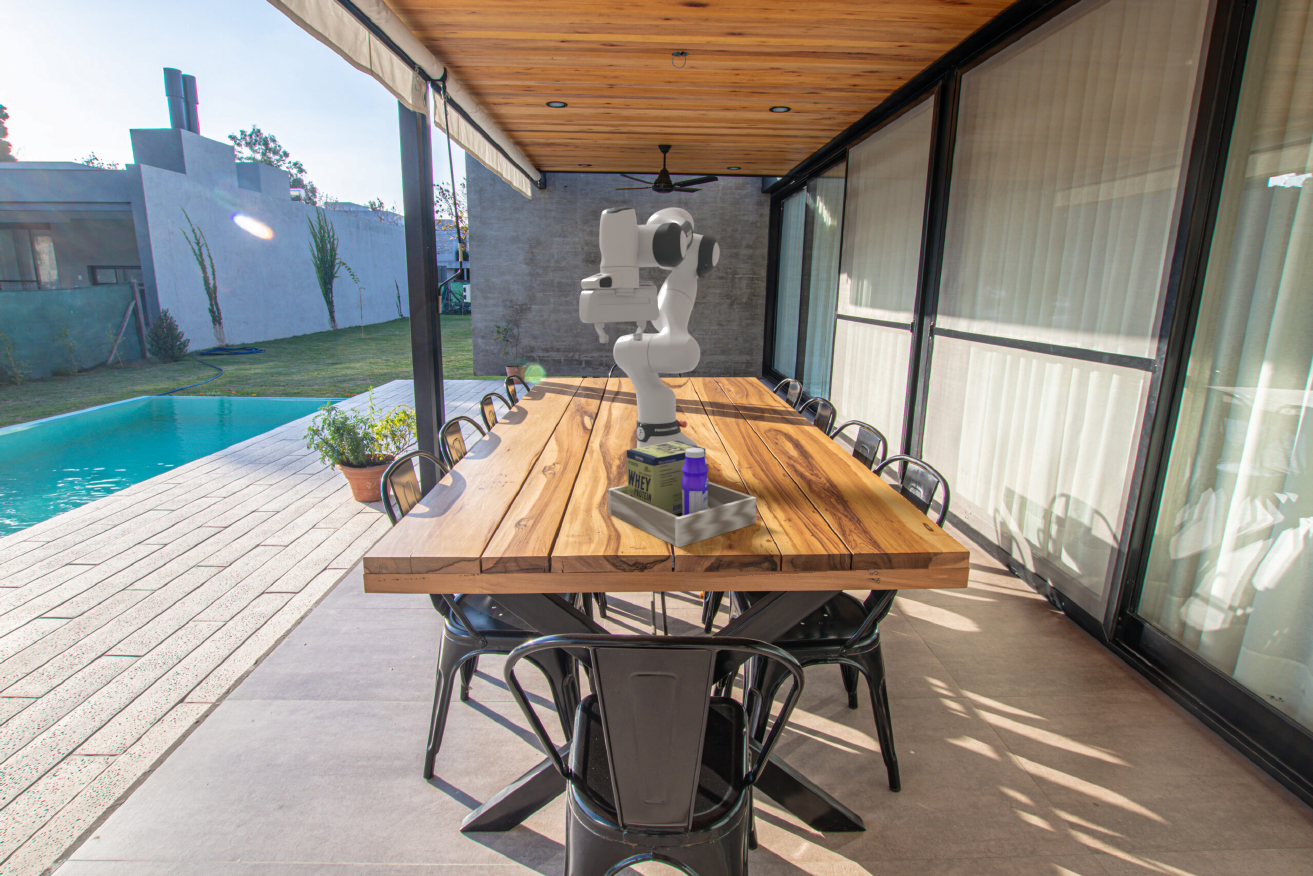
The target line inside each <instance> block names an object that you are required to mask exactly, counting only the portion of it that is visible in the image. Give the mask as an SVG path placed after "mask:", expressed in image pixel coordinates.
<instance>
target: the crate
mask: <svg viewBox="0 0 1313 876" xmlns="http://www.w3.org/2000/svg"><path fill="white" fill-rule="evenodd" d="M607 501H608V502H607V504H608V514H609V515H611V516H613V517H615V518H617V519H619V520H621V521H623V522H625V523H627V524H629V525H631V526H633V527H636V528H637V529H640V530H642V531H643V532H646V533H648V534H649V535H652V536H654V537H655V538H658V539H660V540H662V541H665V542H666V543H669V545H672V546H675V547H676V548H681V547H684V546H688V545H691V544H695V543H696V542H701V541H704V540H707V539H709V538H714V537H717V536H719V535H722V534H723V535H724V534H726V533H730V532H733V531H736V530H739V529H742V528H746V527H748V526H749V527H750V526H753V525H755V524H757V523H756V522H757V497H755V496H752V495H749V494H747V493H743V492H740V491H739V490H736V489H735V490H734V489H732V488H729V487H725V486H723V485H720V484H717V483H714V482H710V481H708V509H706V510H702V511H699V512H695V513H691V514H688V515H684V516H680V517H678V516H676V515H673V514H671V513H669V512H666V511H664V510H662V509H659V508H657V507H655V506H652V505H650V504H648V503H645V502H643V501H641V500H638V499H636V498H633V497H631V496H629V495H628V484H624V485H619V486H615V487H610V488H607Z"/></svg>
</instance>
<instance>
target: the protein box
mask: <svg viewBox="0 0 1313 876" xmlns="http://www.w3.org/2000/svg"><path fill="white" fill-rule="evenodd" d="M689 448H702V449H704V454H705V455H706V448H705V447H701V446H698V445H697V446H695V445H691V444H688V443H684V442H681V441H672V442H667V443H662V444H657V445H652V446H647V447H641V448H637V447H636V448H631V449H626V474H627V475H626V476H627V478H626V479H627V480H626V482H627V485H628V495H629V496H631V497H633V498H636V499H638V500H641V501H643V502H645V503H648V504H650V505H652V506H655V507H657V508H659V509H662V510H664V511H666V512H669V513H671V514H673V515H676V516H678V517H680V516H682V478H683V474H684V473H683V471H682V468H683V466H684V464H685V457H686V449H689Z"/></svg>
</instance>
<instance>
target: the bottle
mask: <svg viewBox="0 0 1313 876" xmlns="http://www.w3.org/2000/svg"><path fill="white" fill-rule="evenodd" d="M702 448H703V447H702ZM702 448H689V449H686V457H685V464H684V466H683V468H682V471H683V473H684V474H683V478H682V516H684V515H688V514H691V513H695V512H699V511H702V510H706V509H709V508H708V482H709V477H708V474H707V473H708V472H709V468H708V466H707V464H706V463H705V460H706V453H705V454H704V449H702Z"/></svg>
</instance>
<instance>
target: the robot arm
mask: <svg viewBox="0 0 1313 876" xmlns="http://www.w3.org/2000/svg"><path fill="white" fill-rule="evenodd" d="M636 214H637V213H636V210H635V208H634V207H633V206H632V207H631V206H616V207H608V208H605V209H604V210H603V211H602V212H601V215H600V220H599V221H600V222H599V237H598V238H599V239H598V240H599V243H598V244H599V250H600V255H601V261H600V266H599V268H600V269H599V270H600V272H599V273H596V274H594V275H591V276H588V277H586V278H583V279H582V280H581V282H580V287H581V289H583V290H582V291H581V293H580V295H579V303H578V304H579V306H578V309H579V310H578V313H579V314H578V315H579V319H580V321H581V322H582V323H584V324H594V329H595V331H596V333H597V334H598V336H599V338H598V339H599V340H598V341H599V343H600V344H608V343H609V342H610V340H609V339H610V336H609V334H606V332H605V330H604V328H605V323H626V322H627V323H628V322H636V326H638V327H637V328H636V331H635V332H633V333H630V334H627V335H621V336H620V337H619V338H618V339H617V340H616V341H615V344H614V346H613V350H612V351H613V352H612V353H613V359H614V362H615V363H616V365H617V367H618V368H620V369H621V370H622V371H623V372H624V373H625V374H626V375H627V377H628V378H629V380H630V382H631V383H632V386H633V389H634V391H635V395H636V406H637V407H636V409H637V420H636V424H635V425H636V438H637V440H636V441H637V442H636V444H637V445H636V448H641V447H647V446H652V445H657V444H662V443H667V442H672V441H681V442H684V443H688V444H691V445H695V446H698V444H697V443H696V442H695V440H693V439H691V438H690V437H689V436H688V435H686V434H685V433H683V432H682V428H684V429H686V428H687V427H688V422H687V421H686V420H680V421H679V420H678V419H677V412H676V411H677V407H676V406H677V401H676V400H677V398H676V394H675V391H674V390H673V389H671V387H669V386H667V385H665V384H664V383H663V382H662V380H661V379H660V376H659V374H682V373H687V372H692V371H693V370H694V369H696V367H697V366H698V364H699V362H700V359H701V349H700V345H699V343H698V341H697V340H696V339H695V337H693V336H692V335H691V334H690V332H689V331H688V325H689V321H690V318H691V314H692V311H693V308H694V305H695V302H696V298H697V291H698V278H699V279H700V280H703V279H706V276H707V275H708V274H711V272H713V270H714V269H716V267H717V265H718V262H719V258H720V253H721V251H720V246H719V245H720V244H719V241H718V240H717V238H716V237H714V236H711V235H710V234H709V235H708V234H698V233H694V228H695V223H694V219H693V216H692V215H691V213H689V212H688V211H687V210H686V209H683V208H681V207H675V206H674V207H666V208H663V209H661V210H658V211H656V212H654V213H653V214H652V215H651V216H650V217H649V218H648V220H647V221H646V224H638V222H637V221H638V220H637V215H636ZM651 267H652V268H655V269H658V270H661V269H663V270H667V271H671V272H670V273H669V275H668V276H667V278H666V279H665V281H664V282H663V284H662V286H661V288H660V290H659V292H658V288H657V285H656V284H655V283H654V282H652V281H651V280H646V281H645V280H644V281H643V280H640V268H651ZM649 321H650V322H651V324H652V325H653V327H654V328H655V329H656V331H658V332H657V333H644V332H645V330H646V328H647V322H649ZM705 463H706V465H708V461H707V459H705Z"/></svg>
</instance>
